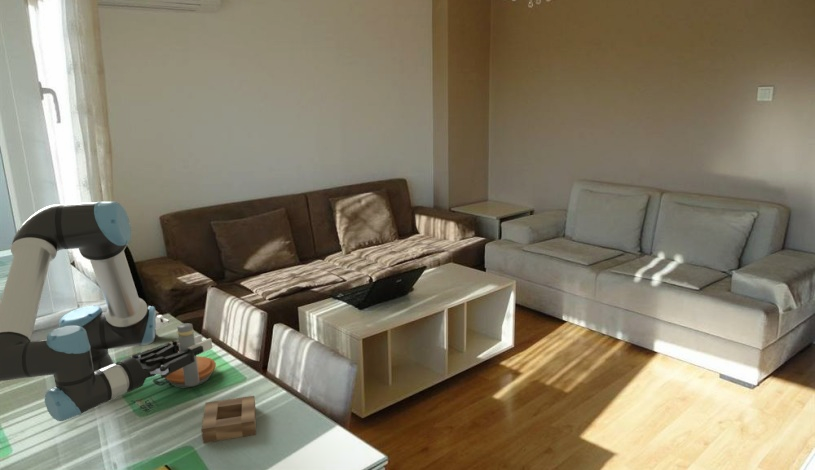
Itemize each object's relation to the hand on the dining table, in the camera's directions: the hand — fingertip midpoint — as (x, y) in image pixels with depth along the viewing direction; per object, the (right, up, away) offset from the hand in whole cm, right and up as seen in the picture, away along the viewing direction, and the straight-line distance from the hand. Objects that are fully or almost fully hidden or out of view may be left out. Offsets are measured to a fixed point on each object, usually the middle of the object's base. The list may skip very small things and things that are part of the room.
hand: (205, 341), depth 153 cm
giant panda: (-40, -10, +55) cm, 69 cm away
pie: (-14, -17, +27) cm, 35 cm away
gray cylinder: (-3, -10, -2) cm, 11 cm away
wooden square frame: (+6, -23, +2) cm, 24 cm away
